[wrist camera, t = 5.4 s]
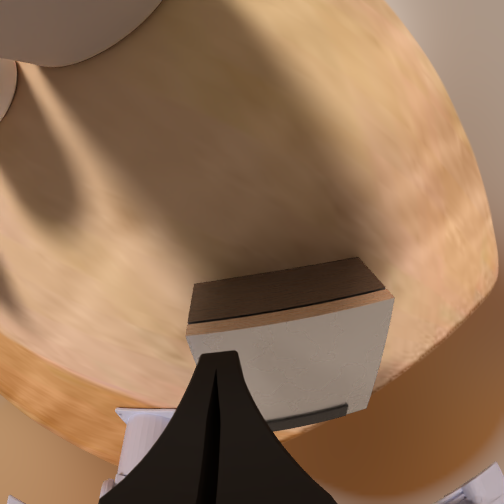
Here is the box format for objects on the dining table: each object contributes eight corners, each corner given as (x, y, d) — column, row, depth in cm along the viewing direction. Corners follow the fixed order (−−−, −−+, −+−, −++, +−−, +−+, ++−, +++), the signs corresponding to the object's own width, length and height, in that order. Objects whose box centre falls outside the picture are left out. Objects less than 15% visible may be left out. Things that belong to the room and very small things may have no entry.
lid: (362, 399, 20) (367, 409, 19) (227, 426, 20) (228, 437, 19) (386, 289, 15) (396, 299, 14) (187, 324, 15) (185, 338, 14)
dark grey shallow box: (346, 364, 24) (361, 397, 20) (226, 387, 24) (227, 423, 20) (358, 257, 19) (385, 287, 15) (194, 283, 19) (187, 322, 15)
